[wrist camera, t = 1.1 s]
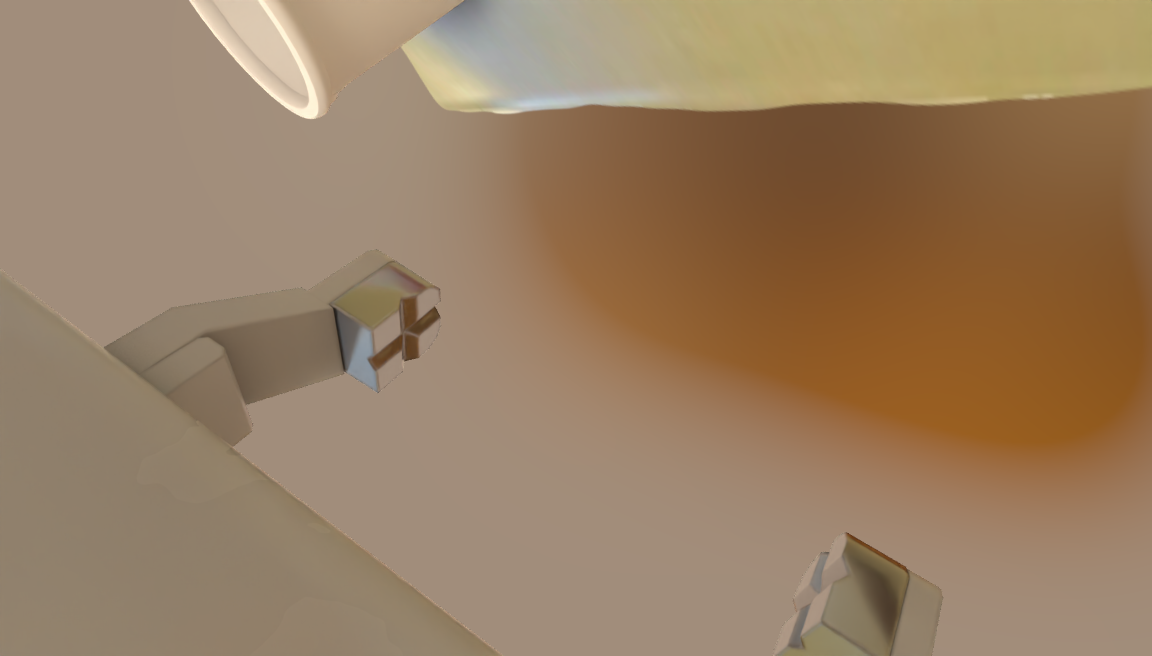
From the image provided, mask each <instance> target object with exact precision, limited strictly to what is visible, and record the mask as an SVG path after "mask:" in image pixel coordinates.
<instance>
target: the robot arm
mask: <svg viewBox="0 0 1152 656" xmlns="http://www.w3.org/2000/svg"><path fill="white" fill-rule="evenodd" d="M440 301H441V298H440V289H439V288H438V287H436V286H435V285H433V284H432V283H430V282H428V281H427V280H425V279H424V278H422V277H421V276H419V275H417V274H416V273H414V272H413V271H411V270H409V269H408V268H406V267H405V266H403V265H401V264H400V263H399V262H397V261H395V260H394V259H392V258H390V257H389V256H387V255H386V254H384V253H382V252H381V251H379V250H377V249H376V250H371V251H367V252H365V253H364V254H362V255H361V256H359V257H358V258H356V259H355V260H353V261H352V262H350V263H349V264H347V265H346V266H344V267H343V268H341V269H340V270H338V271H337V272H335V273H333V274H332V275H331V276H329V277H328V278H326V279H324V280H323V281H321V282H320V283H318V284H317V285H315V286H314V287H312V288H311V289H309V290H308V291H307V290H305V289H303V288H302V287H301V288H295V289H289V290H282V291H276V292H269V293H263V294H256V295H250V296H243V297H237V298H231V299H224V300H218V301H211V302H205V303H198V304H192V305H185V306H179V307H173V308H170V309H169V310H167V311H165V312H163V313H162V314H160V315H158V316H157V317H155V318H153V319H152V320H150V321H148V322H147V323H145V324H143V325H141V326H140V327H138V328H136V329H134V330H133V331H131V332H129V333H128V334H126V335H124V336H122V337H121V338H119V339H117V340H116V341H114V342H112V343H110V344H109V345H107V346H105V347H104V348H103V347H102V346H100V345H99V344H98V343H96V342H95V341H94V340H93V339H91V338H90V337H89V336H87V335H86V334H85V333H83V332H82V331H81V330H79V329H78V328H77V327H76V326H74V325H73V324H72V323H70V322H69V321H68V320H66V319H65V318H64V317H63V316H61V315H60V314H59V313H57V312H56V311H55V310H53V309H52V308H51V307H50V306H48V305H47V304H46V303H44V302H43V301H42V300H40V299H39V298H38V297H36V296H35V295H34V294H33V293H31V292H30V291H29V290H27V289H26V288H25V287H23V286H22V285H21V284H19V283H18V282H17V281H15V280H14V279H13V278H12V277H10V276H9V275H8V274H7V273H5V272H4V271H3V270H2V269H0V656H504V655H502V654H501V653H499V652H498V651H497V650H496V649H494V648H493V647H492V646H490V645H489V644H488V643H487V642H485V641H484V640H483V639H481V638H480V637H479V636H477V635H476V634H475V633H474V632H472V631H471V630H470V629H468V628H467V627H466V626H464V625H463V624H462V623H460V622H459V621H458V620H457V619H455V618H454V617H453V616H451V615H450V614H449V613H448V612H446V611H445V610H444V609H442V608H441V607H440V606H438V605H437V604H436V603H435V602H433V601H432V600H431V599H429V598H428V597H427V596H425V595H424V594H423V593H422V592H420V591H419V590H418V589H416V588H415V587H414V586H412V585H411V584H410V583H409V582H407V581H406V580H405V579H403V578H402V577H401V576H399V575H398V574H397V573H396V572H394V571H393V570H392V569H390V568H389V567H388V566H386V565H385V564H384V563H383V562H381V561H380V560H379V559H377V558H376V557H374V556H373V555H372V554H371V553H369V552H368V551H367V550H366V549H364V548H363V547H362V546H360V545H359V544H358V543H357V542H355V541H354V540H353V539H351V538H350V537H349V536H347V535H346V534H345V533H344V532H342V531H341V530H340V529H338V528H337V527H335V526H334V525H333V524H332V523H330V522H329V521H328V520H327V519H325V518H324V517H323V516H321V515H320V514H319V513H318V512H316V511H315V510H314V509H312V508H311V507H310V506H308V505H307V504H306V503H304V502H303V501H302V500H301V499H299V498H298V497H297V496H295V495H294V494H293V493H292V492H290V491H289V490H288V489H286V488H285V487H284V486H282V485H281V484H280V483H279V482H277V481H276V480H274V479H273V478H272V477H271V476H269V475H268V474H267V473H265V472H264V471H263V470H262V469H260V468H259V467H258V466H256V465H255V464H254V463H253V462H251V461H250V460H249V459H247V458H246V457H244V456H243V455H242V454H241V453H240V452H238V451H237V450H235V449H234V448H233V446H235V445H236V444H237V443H238V442H239V441H241V440H242V439H243V438H244V437H246V436H247V435H248V434H249V433H251V432H252V427H253V423H252V421H251V418H250V415H249V412H248V410H247V407H246V405H247V404H250V403H254V402H257V401H260V400H263V399H266V398H270V397H273V396H276V395H279V394H282V393H286V392H289V391H292V390H295V389H298V388H302V387H304V386H308V385H311V384H314V383H317V382H320V381H324V380H327V379H330V378H333V377H336V376H340V375H343V374H344V372H346V373H348V374H349V375H351V376H352V377H354V378H355V379H357V380H359V381H360V382H362V383H363V384H365V385H366V386H368V387H370V388H371V389H372V390H374V391H376V392H377V393H379V392H380V391H381V390H382V389H383V388H385V387H386V386H387V385H388V384H389V383H390V382H391V381H393V379H395V378H396V377H397V376H398V375H399V374H401V373H402V372H403V366H404V361H407V360H411V359H416V358H419V357H420V356H421V355H422V354H424V353H425V352H426V351H427V350H428V349H429V348H430V346H431V345H432V343H433V342H434V340H435V339H436V337H437V335H438V332H439V329H440V319H441V318H440V315H439V313H438V311H437V309H436V308H435V305H437V304H438V303H439V302H440ZM942 600H943V596H942V591H941V589H940V588H939V587H937V586H936V585H934V584H932V583H930V582H929V581H927V580H925V579H924V578H922V577H920V576H918V575H917V574H915V573H913V572H912V571H910V570H908V569H907V568H906V567H905V566H903V565H901V564H900V563H898V562H897V561H895V560H893V559H891V558H889V557H888V556H886V555H885V554H883V553H881V552H879V551H878V550H876V549H874V548H872V547H871V546H869V545H867V544H866V543H864V542H862V541H861V540H859V539H857V538H855V537H854V536H852V535H850V534H849V533H842V534H841V535H839V536H838V537H837V538H836V539H835V540H834V541H833V544H832V547H831V550H830V552H821V553H820V554H819V555H818V557H817V558H816V559H815V560H814V561H813V562H812V563H811V565H810V566H809V567H808V569H807V571H806V572H805V574H804V575H803V577H802V580H801V581H800V583H799V585H798V588H797V591H796V593H795V595H794V598H793V602H794V606H795V610H796V613H795V614H794V615H793V616H792V617H791V618H790V619H788V620H787V621H786V622H785V623H784V624H783V627H782V630H781V633H780V636H779V638H778V641H777V644H776V646H775V649H774V652H773V655H772V656H932V652H933V647H934V642H935V636H936V631H937V626H938V621H939V616H940V610H941V605H942Z"/></svg>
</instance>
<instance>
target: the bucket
mask: <svg viewBox="0 0 1152 656" xmlns="http://www.w3.org/2000/svg"><path fill="white" fill-rule="evenodd" d="M189 1H190V2H191V4H192V5H193V7H194V8H195V10H196V11H197V12H198V14H199V15H200V16H201V18H202V19H203V20H204V22H205V23H206V24H207V25H208V27H209V28H210V29H211V31H212V32H213V34H214V35H215V36H216V37H217V38H218V39H219V41H220V42H221V43H222V45H223V46H224V47H225V48H226V49H227V51H228V52H229V53H230V54H231V55H232V56H233V57H234V58H235V60H236V61H237V62H238V63H239V64H240V65H241V66H242V68H243V69H244V70H245V71H247V73H248V74H249V75H250V76H251V77H252V78H253V79H254V80H255V81H256V82H257V83H258V84H259V85H260V86H261V87H262V88H263V89H264V90H265V91H267V92H268V93H269V94H270V95H271V96H272V97H273V98H275V99H276V100H277V101H278V102H279V103H281V104H282V105H283V106H284V107H286V108H287V109H289V110H290V111H292V112H293V113H295V114H297V115H300V116H301V117H303V118H308V119H315V118H319V117H321V116H323V115H324V114H326V113H327V112H328V110H329V108H330V106H331V103H332V102H334V101H335V100H336V99H337V93H338V92H341V91H342V89H344V88H345V86H346V85H347V84H349V83H350V82H352V81H353V80H354V79H356V78H357V77H358V76H360V75H361V74H363V73H364V72H365V71H367V70H368V69H369V68H371V67H372V66H374V65H375V64H377V63H378V62H379V61H381V60H382V59H384V58H385V57H386V56H388V55H389V54H391V53H392V52H393V51H395V50H396V49H397V48H399V47H400V46H402V45H403V44H405V43H406V42H407V41H409V40H410V39H412V38H413V37H414V36H416V35H417V34H419V33H420V32H421V31H423V30H424V29H426V28H427V27H428V26H430V25H431V24H433V23H434V22H435V21H437V20H438V19H439V18H441V17H442V16H444V15H445V14H446V13H448V12H449V11H451V10H452V9H453V8H455V7H456V6H458V5H459V4H460V3H462V2H463V1H465V0H189Z"/></svg>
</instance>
